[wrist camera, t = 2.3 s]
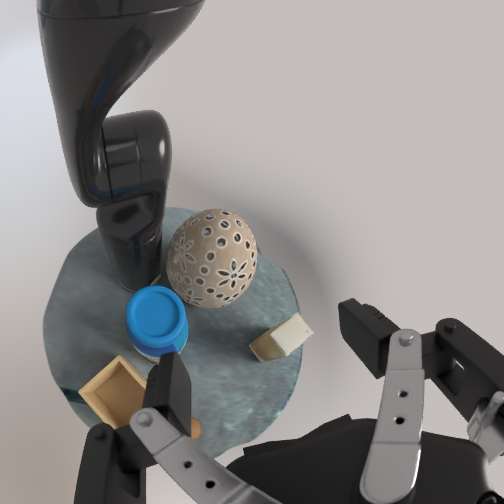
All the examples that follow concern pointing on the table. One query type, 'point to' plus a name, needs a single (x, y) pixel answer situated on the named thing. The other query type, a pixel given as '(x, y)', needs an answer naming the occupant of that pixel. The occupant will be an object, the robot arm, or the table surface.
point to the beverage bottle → (156, 322)
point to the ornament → (211, 259)
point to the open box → (115, 392)
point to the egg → (195, 429)
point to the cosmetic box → (281, 339)
